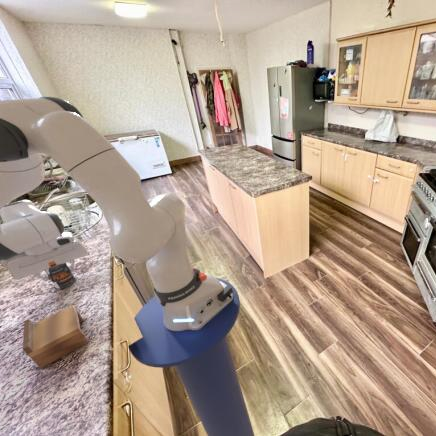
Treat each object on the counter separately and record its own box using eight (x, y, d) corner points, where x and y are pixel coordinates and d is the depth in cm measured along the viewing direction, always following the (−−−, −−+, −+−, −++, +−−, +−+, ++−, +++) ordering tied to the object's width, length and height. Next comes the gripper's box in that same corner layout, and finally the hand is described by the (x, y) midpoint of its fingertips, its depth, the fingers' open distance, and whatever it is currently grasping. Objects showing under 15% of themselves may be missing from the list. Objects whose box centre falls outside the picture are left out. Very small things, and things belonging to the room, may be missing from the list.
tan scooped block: (83, 318, 74) (70, 300, 70) (88, 342, 66) (75, 323, 62) (40, 339, 68) (24, 321, 64) (40, 368, 60) (22, 349, 56)
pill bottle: (59, 291, 86) (42, 266, 81) (53, 285, 89) (37, 261, 84) (78, 281, 91) (63, 257, 85) (72, 276, 94) (58, 253, 88)
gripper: (-5, 262, 73) (21, 294, 80) (77, 235, 86) (94, 265, 92) (-2, 254, 77) (22, 285, 84) (76, 230, 90) (92, 259, 96)
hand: (60, 274), depth 88 cm, fingers closed on pill bottle, 6 cm apart
